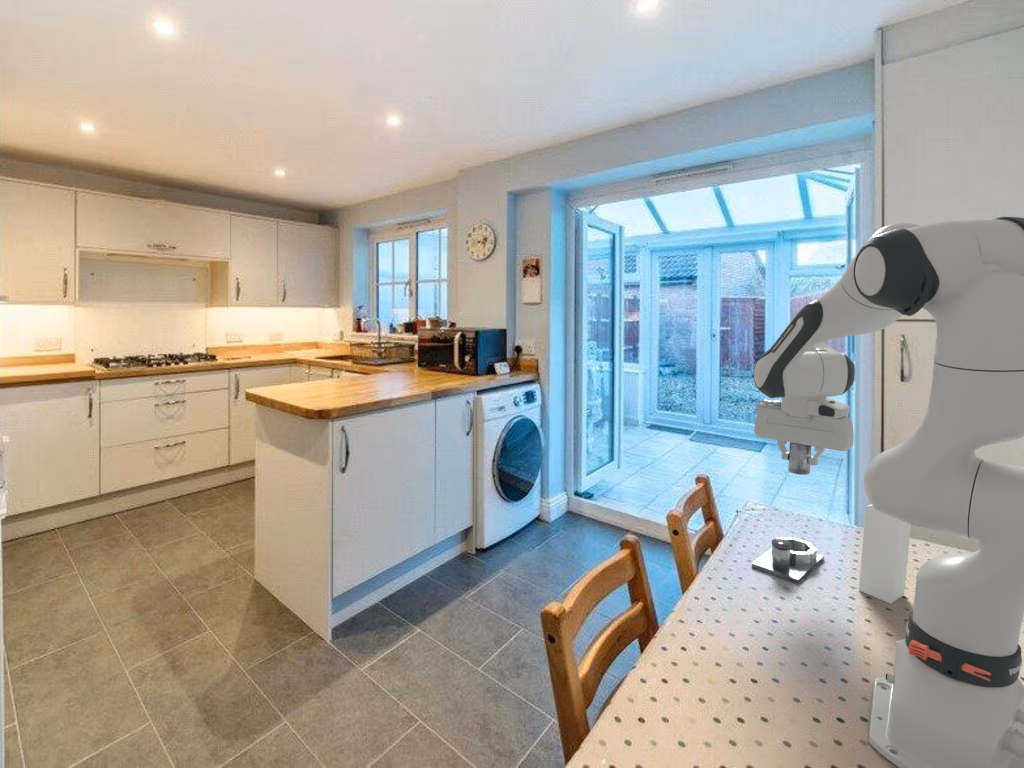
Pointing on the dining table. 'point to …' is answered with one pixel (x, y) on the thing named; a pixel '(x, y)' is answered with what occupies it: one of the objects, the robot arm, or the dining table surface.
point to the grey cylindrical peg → (799, 459)
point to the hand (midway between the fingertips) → (799, 461)
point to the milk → (884, 556)
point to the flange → (789, 559)
